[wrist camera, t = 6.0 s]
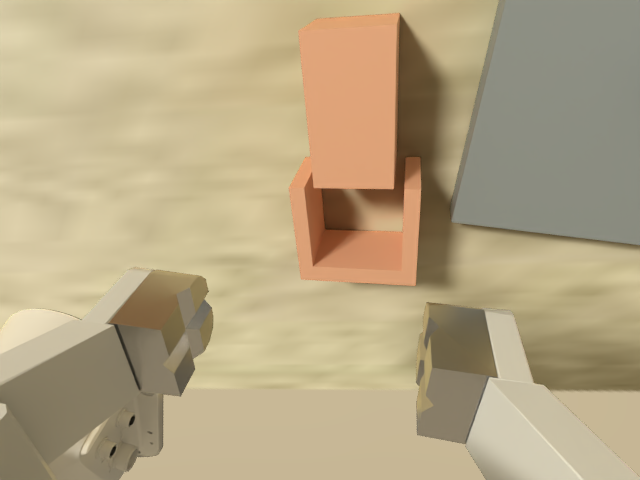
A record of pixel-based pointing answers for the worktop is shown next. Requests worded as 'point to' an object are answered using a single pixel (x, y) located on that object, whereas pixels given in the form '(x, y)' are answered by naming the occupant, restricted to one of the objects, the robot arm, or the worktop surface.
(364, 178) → the orange hollow block
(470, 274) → the worktop surface
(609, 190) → the board
